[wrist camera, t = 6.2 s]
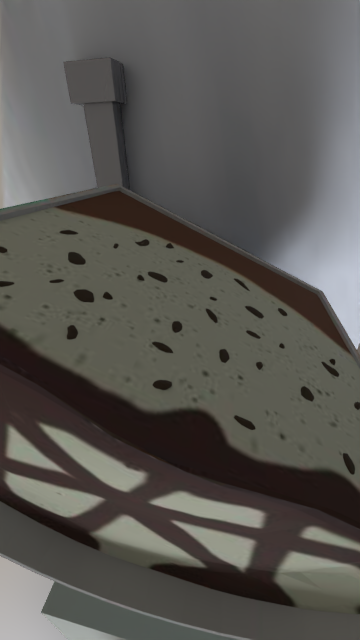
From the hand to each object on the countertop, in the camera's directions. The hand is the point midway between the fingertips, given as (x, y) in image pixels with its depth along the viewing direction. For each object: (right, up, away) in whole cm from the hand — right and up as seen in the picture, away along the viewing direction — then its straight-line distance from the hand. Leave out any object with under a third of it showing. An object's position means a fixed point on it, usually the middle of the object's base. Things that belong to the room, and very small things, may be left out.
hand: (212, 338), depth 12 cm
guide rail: (-4, +4, +4) cm, 7 cm away
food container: (-1, +2, +1) cm, 3 cm away
